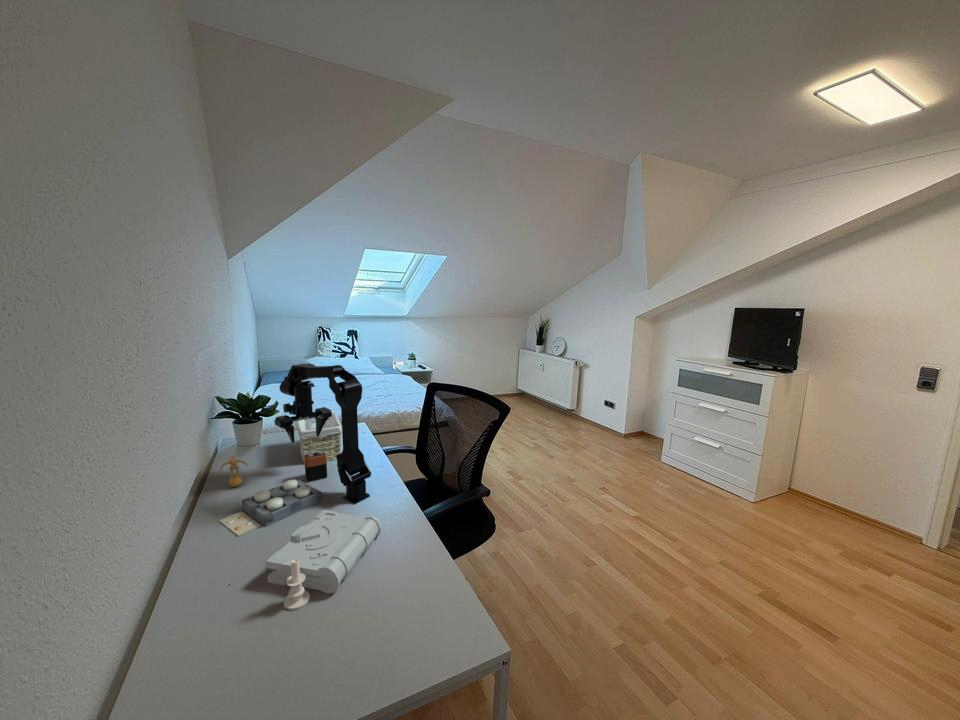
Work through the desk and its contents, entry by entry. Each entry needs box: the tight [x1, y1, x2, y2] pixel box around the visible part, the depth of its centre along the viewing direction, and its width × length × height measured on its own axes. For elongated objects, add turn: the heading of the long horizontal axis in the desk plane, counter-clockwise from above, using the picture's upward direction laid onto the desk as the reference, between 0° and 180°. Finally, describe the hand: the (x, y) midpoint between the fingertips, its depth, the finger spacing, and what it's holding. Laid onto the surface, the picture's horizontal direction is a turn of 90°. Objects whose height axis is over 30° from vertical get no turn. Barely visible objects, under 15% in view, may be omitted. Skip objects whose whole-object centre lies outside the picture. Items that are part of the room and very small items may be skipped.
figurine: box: [219, 455, 249, 488], centre depth 132 cm, size 8×6×12 cm
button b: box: [282, 479, 298, 492], centre depth 128 cm, size 4×4×2 cm
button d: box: [253, 489, 271, 503], centre depth 121 cm, size 4×4×2 cm
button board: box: [241, 478, 324, 527], centre depth 123 cm, size 15×18×3 cm
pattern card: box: [219, 511, 261, 537], centre depth 112 cm, size 12×6×1 cm, turn 56°
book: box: [265, 509, 382, 595], centre depth 101 cm, size 19×28×8 cm
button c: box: [267, 497, 283, 511], centre depth 116 cm, size 4×4×2 cm
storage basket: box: [296, 410, 342, 465], centre depth 163 cm, size 24×16×15 cm
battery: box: [304, 450, 328, 483], centre depth 141 cm, size 4×7×10 cm, turn 127°
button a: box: [295, 486, 310, 499], centre depth 124 cm, size 4×4×2 cm
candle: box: [283, 559, 311, 611], centre depth 84 cm, size 5×5×10 cm
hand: (305, 439), depth 141 cm, fingers open, 9 cm apart
